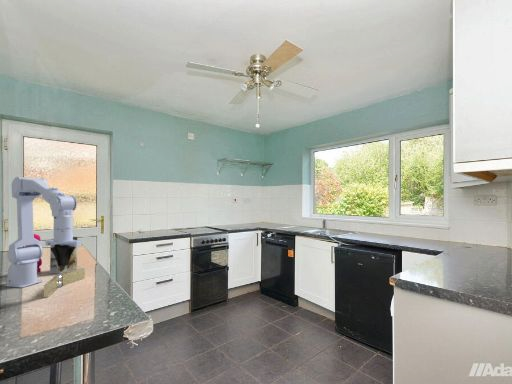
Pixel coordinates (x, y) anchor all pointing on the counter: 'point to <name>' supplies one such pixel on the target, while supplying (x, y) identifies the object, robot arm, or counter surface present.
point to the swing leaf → (52, 285)
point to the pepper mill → (40, 258)
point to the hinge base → (72, 277)
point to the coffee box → (59, 269)
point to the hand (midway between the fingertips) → (63, 265)
